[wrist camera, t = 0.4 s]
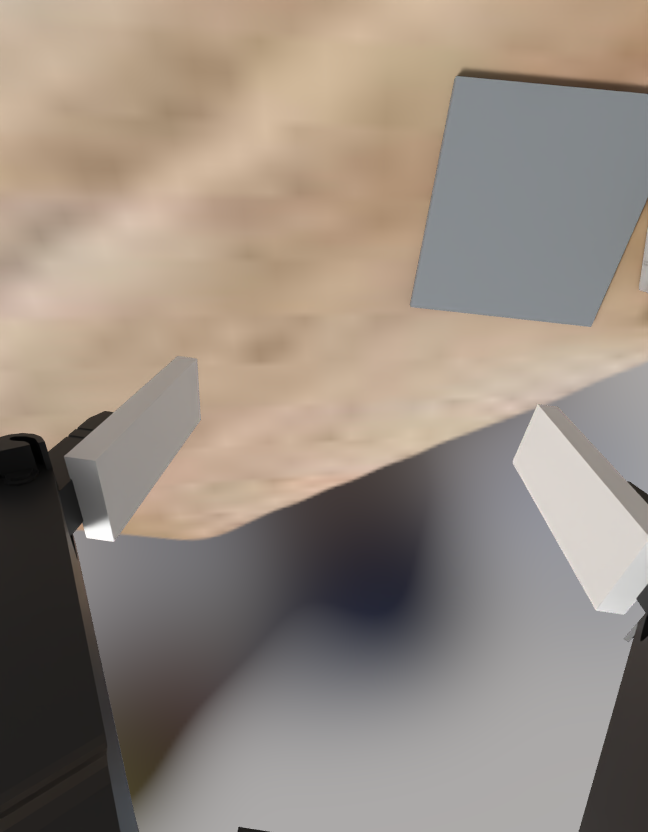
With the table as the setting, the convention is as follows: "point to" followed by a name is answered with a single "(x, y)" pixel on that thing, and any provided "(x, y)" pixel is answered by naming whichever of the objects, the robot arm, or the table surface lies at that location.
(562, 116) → the mat
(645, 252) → the coffee box
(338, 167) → the table surface
